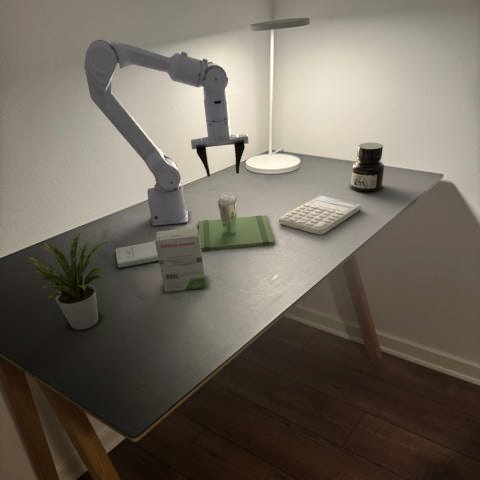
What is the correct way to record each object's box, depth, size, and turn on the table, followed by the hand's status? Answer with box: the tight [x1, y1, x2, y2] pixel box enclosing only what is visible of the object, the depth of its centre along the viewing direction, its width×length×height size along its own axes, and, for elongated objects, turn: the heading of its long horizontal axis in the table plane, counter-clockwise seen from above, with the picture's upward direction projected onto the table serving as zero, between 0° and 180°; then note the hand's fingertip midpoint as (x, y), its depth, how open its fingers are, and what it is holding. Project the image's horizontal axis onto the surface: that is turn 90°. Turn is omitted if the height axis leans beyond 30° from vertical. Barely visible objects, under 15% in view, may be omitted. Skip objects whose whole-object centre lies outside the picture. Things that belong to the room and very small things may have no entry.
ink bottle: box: [350, 142, 385, 193], centre depth 129 cm, size 10×9×12 cm
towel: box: [198, 214, 276, 252], centre depth 112 cm, size 18×16×1 cm
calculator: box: [278, 194, 362, 236], centre depth 117 cm, size 13×20×2 cm, turn 139°
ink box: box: [154, 226, 207, 293], centre depth 90 cm, size 9×5×12 cm, turn 96°
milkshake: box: [217, 195, 239, 235], centre depth 108 cm, size 4×5×10 cm
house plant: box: [25, 232, 111, 330], centre depth 81 cm, size 14×14×16 cm
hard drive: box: [115, 240, 159, 269], centre depth 105 cm, size 2×8×12 cm
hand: (223, 173), depth 119 cm, fingers open, 7 cm apart
